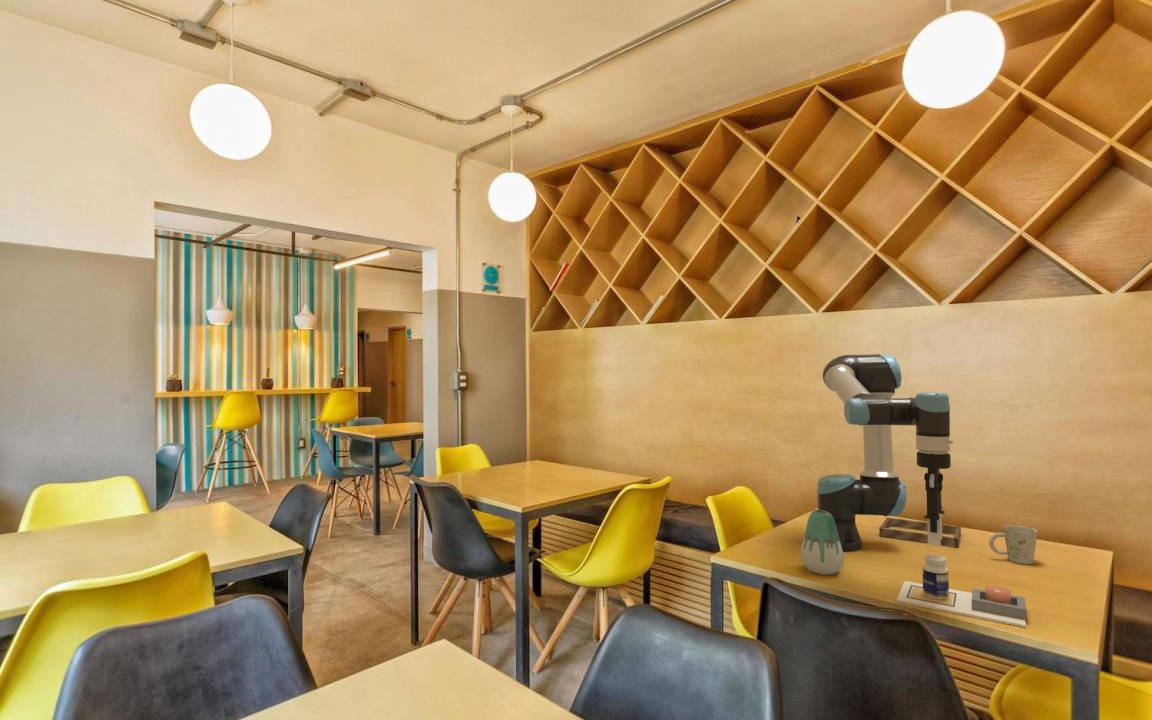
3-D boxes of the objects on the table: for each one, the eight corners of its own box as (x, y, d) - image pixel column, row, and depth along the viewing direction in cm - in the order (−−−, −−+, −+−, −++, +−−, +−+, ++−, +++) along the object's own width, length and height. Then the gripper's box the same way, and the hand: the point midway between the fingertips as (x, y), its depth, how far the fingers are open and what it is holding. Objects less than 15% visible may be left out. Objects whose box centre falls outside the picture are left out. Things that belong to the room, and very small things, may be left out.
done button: (985, 603, 140) (985, 590, 140) (985, 596, 144) (985, 584, 145) (1011, 608, 138) (1011, 595, 138) (1010, 601, 142) (1010, 588, 142)
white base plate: (897, 601, 147) (896, 590, 147) (904, 583, 160) (904, 572, 160) (1027, 628, 131) (1027, 615, 131) (1024, 604, 144) (1024, 592, 144)
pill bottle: (917, 592, 151) (917, 554, 151) (938, 591, 152) (937, 553, 152) (933, 600, 146) (932, 561, 146) (954, 599, 146) (953, 560, 146)
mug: (1044, 566, 172) (1043, 533, 172) (997, 564, 175) (996, 531, 175) (1028, 557, 180) (1027, 525, 180) (983, 555, 183) (982, 523, 183)
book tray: (879, 536, 204) (879, 528, 204) (887, 525, 219) (887, 517, 219) (958, 548, 191) (958, 538, 191) (960, 535, 205) (960, 526, 206)
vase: (841, 567, 173) (840, 507, 174) (845, 580, 162) (844, 516, 163) (800, 563, 177) (799, 504, 177) (801, 575, 166) (800, 513, 166)
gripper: (948, 457, 140) (950, 553, 139) (952, 448, 155) (954, 535, 154) (912, 454, 144) (914, 548, 144) (920, 446, 159) (921, 531, 158)
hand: (935, 541), depth 149 cm, fingers open, 5 cm apart
